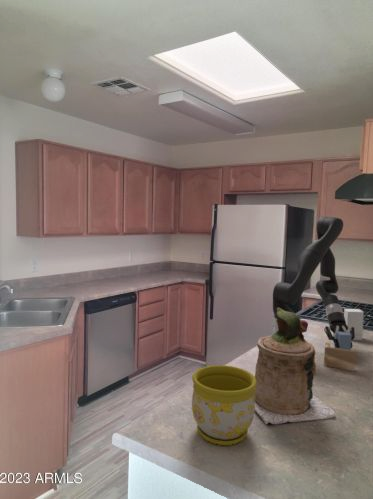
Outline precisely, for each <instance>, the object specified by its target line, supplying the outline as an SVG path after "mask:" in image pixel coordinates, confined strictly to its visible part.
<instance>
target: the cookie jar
mask: <svg viewBox="0 0 373 499" xmlns="http://www.w3.org/2000/svg"><path fill="white" fill-rule="evenodd" d="M276 322H277V325H278V331H277V332H276V333H275V334H273V335H271V334H270V335H266V336H262V337H260V338H258V340H257V342H256V347H257V348H258V355H257V361H256V363H255V370H254V371H255V372H254V377H255V378H256V382H257V384H256V387H255V394H254V397H255V413H257V414H258V415H259V417H260V418H261V419H262V421H263V422H264V424H265V425H268V424H269V423H270V424H272V425H282V424H284V423H285V424H286V423H300V422H308V421H316V420H318V421H319V420H327V419H331V418H332V419H333V418H334V417H335V415H336V412H335V411H334V410H333V408H331V407H330V406H328V405H327V404H325V403H324V401H321V400H320V398H318V397H317V396H315V395H314V394H313V386H314V384H313V383H314V379H315V378H314V376H315V374H316V373H317V371H316V369H317V368H316V366H317V365H316V362H315V358H316V350H315V347H314V345H313V344H312V343H310V342H309V341H307V340H306V339H305V336H304V335H303V334H304V333H306V332H307V330H308V327H309V323H308V321H307V320H305V319H300V316H298V314H297V313H295V312H294V313H292V312H287V311H284V310H282V309H281V308H277V320H276Z"/></svg>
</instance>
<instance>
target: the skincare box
mask: <svg viewBox="0 0 373 499" xmlns="http://www.w3.org/2000/svg"><path fill="white" fill-rule="evenodd" d="M343 311H344V312H343V314H344V318H345V321H346V325H347V326H348V327H350V328H352V327H354V332H355V338H354V339H353V341H363V331H364V329H363V328H364V313H365V312H364V311H363V310H361V309H360V308H344V310H343ZM347 332H348V333H349V334H350V332H349V330H347Z"/></svg>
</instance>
